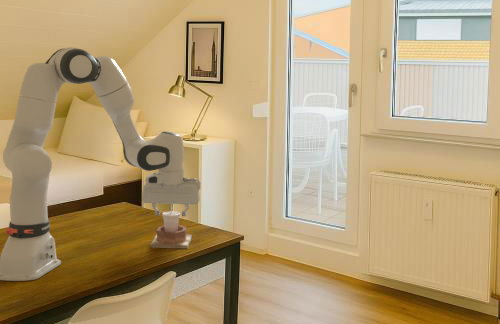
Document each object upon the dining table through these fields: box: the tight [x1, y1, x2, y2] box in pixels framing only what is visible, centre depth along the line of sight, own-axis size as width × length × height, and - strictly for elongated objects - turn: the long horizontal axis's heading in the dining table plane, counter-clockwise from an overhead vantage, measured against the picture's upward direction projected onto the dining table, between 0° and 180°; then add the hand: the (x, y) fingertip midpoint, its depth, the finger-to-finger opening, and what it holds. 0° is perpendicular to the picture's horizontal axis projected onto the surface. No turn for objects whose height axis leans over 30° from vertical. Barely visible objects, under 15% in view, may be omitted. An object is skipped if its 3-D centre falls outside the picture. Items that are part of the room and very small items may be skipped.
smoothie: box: [161, 204, 181, 232], centre depth 220 cm, size 6×6×14 cm
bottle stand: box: [149, 224, 193, 249], centre depth 221 cm, size 13×13×5 cm
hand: (170, 215), depth 219 cm, fingers open, 8 cm apart
